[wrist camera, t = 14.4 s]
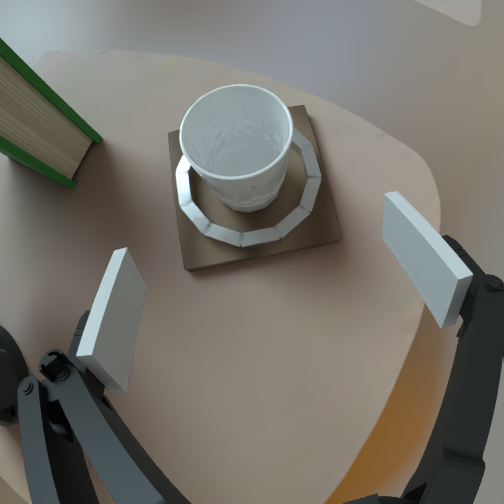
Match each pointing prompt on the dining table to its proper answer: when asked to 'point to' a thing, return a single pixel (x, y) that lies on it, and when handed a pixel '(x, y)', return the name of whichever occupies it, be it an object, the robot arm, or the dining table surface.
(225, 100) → the white cup
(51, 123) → the hardback book
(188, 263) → the ring holder
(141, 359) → the dining table surface
